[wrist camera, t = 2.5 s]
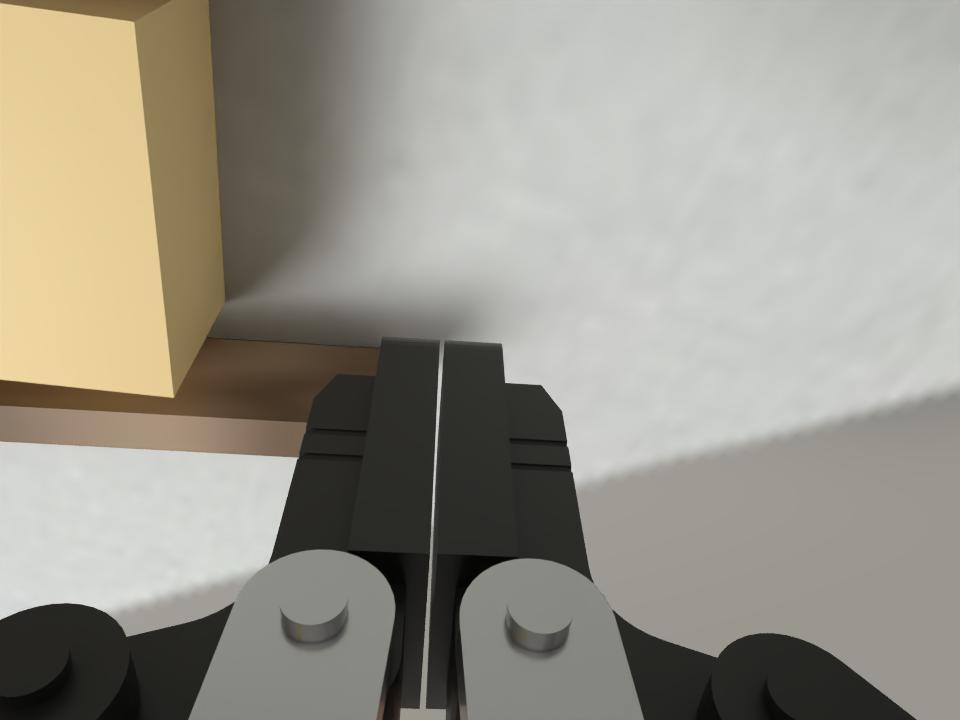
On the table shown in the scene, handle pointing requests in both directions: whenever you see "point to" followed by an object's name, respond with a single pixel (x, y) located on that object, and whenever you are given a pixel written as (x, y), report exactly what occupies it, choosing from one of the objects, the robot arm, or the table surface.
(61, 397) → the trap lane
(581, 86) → the table surface
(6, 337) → the block
